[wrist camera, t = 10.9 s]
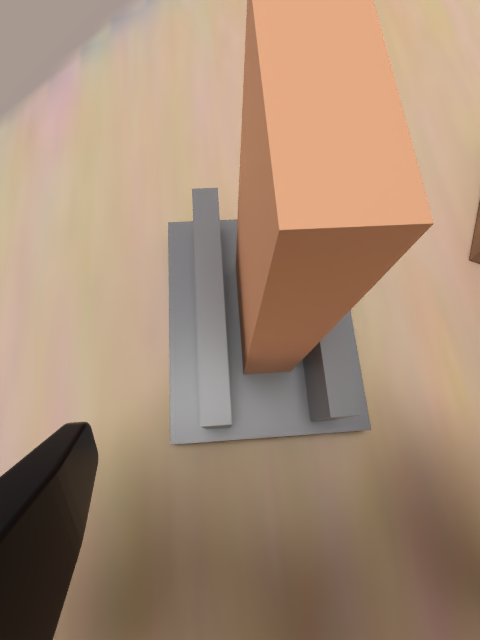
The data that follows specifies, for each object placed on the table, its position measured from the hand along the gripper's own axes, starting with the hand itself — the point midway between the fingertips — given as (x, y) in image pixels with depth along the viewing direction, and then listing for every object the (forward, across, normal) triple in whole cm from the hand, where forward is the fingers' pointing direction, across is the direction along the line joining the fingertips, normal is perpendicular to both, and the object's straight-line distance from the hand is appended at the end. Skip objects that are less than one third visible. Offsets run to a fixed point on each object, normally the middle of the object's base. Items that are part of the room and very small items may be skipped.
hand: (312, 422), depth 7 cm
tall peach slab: (+8, 0, +2) cm, 9 cm away
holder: (+9, 0, +2) cm, 10 cm away
